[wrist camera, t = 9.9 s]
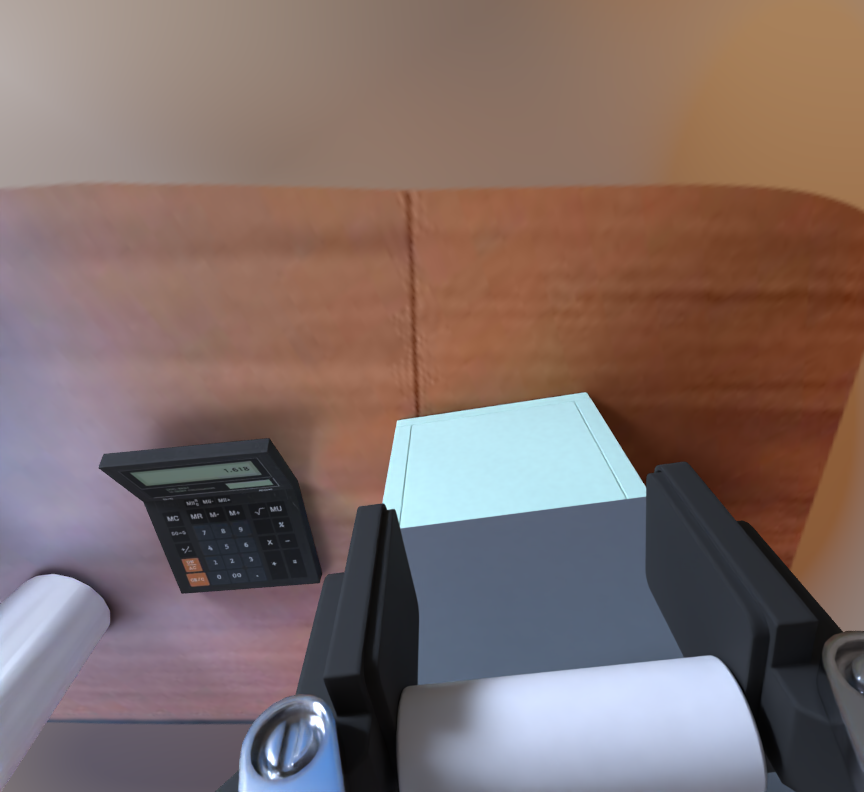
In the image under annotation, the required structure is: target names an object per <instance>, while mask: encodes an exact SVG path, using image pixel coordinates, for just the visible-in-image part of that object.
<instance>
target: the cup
mask: <svg viewBox="0 0 864 792" xmlns="http://www.w3.org/2000/svg"><path fill="white" fill-rule="evenodd" d="M109 625H110V610H109V608H108V606H107V605H106V603H105V601H104V599H103V598H102V597H101V596H100V595H99V594H98V593H97V592H96V591H95V590H93V589H92V588H91V587H90V586H88V585H86V584H84V583H82V582H80V581H78V580H76V579H74V578H71V577H66V576H61V575H56V574H49V575H40V576H35V577H34V578H32V579H30V580H28V581H26V582H24V583H23V584H22V585H21V586H20V587H19V588H18V589H17V590H16V591H14V592H13V593H12V594H11V595H10V596H9V597H8V598H7V599H6V600H5V601H3V602H2V603H1V604H0V792H1V791H2V790H3V788H4V787H5V785H6V783H7V782H8V780H9V779H10V777H11V776H12V774H13V773H14V771H15V770H16V768H17V767H18V765H19V764H20V762H21V760H22V759H23V757H24V756H25V754H26V753H27V751H28V750H29V748H30V747H31V745H32V744H33V742H34V740H35V739H36V737H37V736H38V734H39V733H40V731H41V730H42V728H43V727H44V725H45V724H46V722H47V721H48V719H49V717H50V716H51V714H52V713H53V711H54V710H55V708H56V707H57V705H58V704H59V702H60V701H61V699H62V697H63V696H64V694H65V693H66V691H67V690H68V688H69V687H70V685H71V684H72V682H73V681H74V679H75V678H76V676H77V674H78V673H79V671H80V670H81V668H82V667H83V665H84V664H85V662H86V661H87V659H88V658H89V656H90V654H91V653H92V651H93V650H94V648H95V647H96V645H97V644H98V642H99V641H100V639H101V638H102V636H103V635H104V633H105V631H106V630H107V628H108V627H109Z"/></svg>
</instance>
